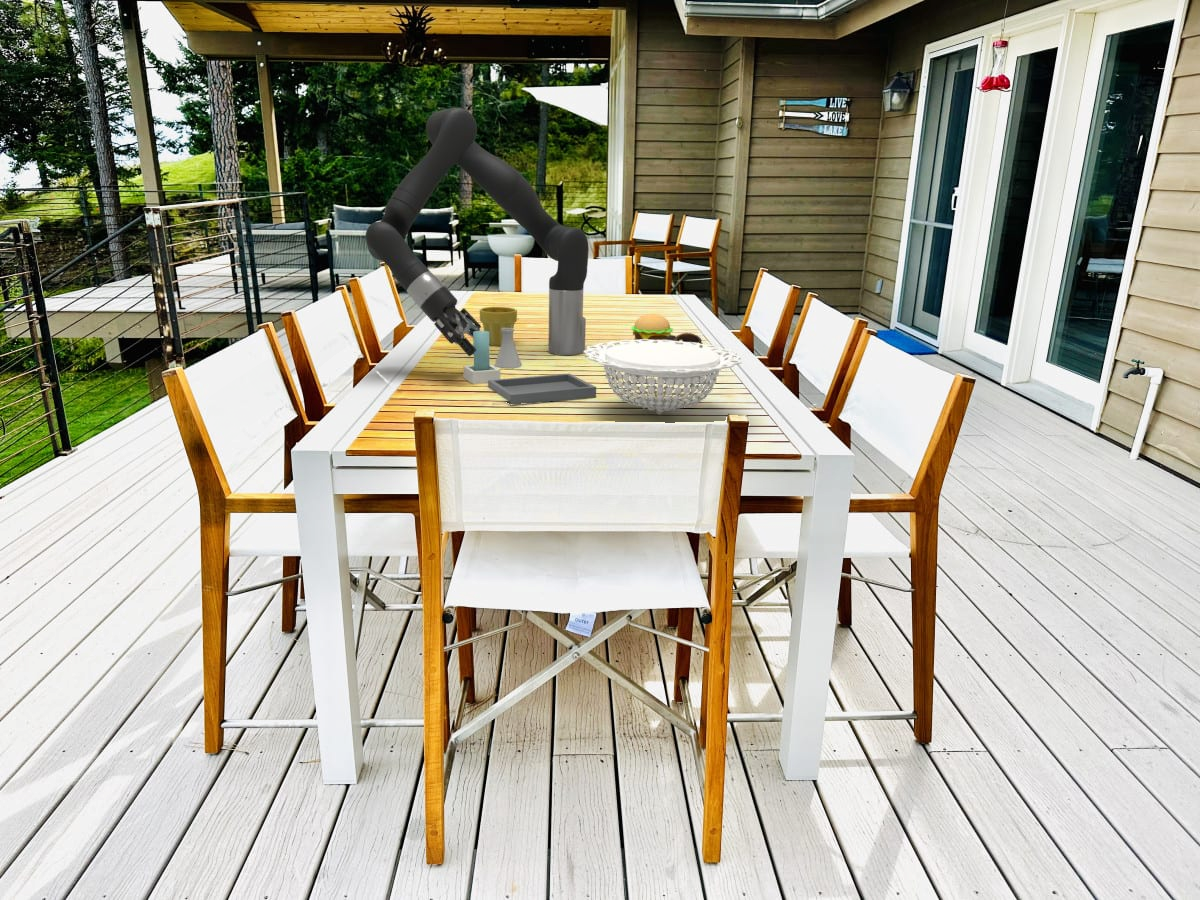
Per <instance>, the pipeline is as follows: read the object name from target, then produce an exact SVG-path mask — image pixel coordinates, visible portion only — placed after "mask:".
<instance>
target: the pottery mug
mask: <svg viewBox="0 0 1200 900" xmlns="http://www.w3.org/2000/svg"><path fill="white" fill-rule="evenodd" d="M666 340H672V341H683V342H695V343H700V344H704V343H703V342H702V341H703V340H702V338H701V337H700V336H698V335H697V334H695V333H691V332H683V333H680V334H678V335H677V336H676V335H672V334H671V335H669V336H668V337H667V338H666ZM694 345H697V344H694ZM700 348H703V346H701V347H700Z"/></svg>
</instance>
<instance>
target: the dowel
mask: <svg viewBox="0 0 1200 900" xmlns="http://www.w3.org/2000/svg"><path fill="white" fill-rule="evenodd" d="M472 341H473V344H472V345H473V346H474V347H475V348H476V351H475V352H474V353H473V365H474V371H483V370H490V361H491V360H490V345H489V332H488V331H484V330H480V331H474V332H473V337H472Z"/></svg>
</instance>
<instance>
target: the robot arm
mask: <svg viewBox="0 0 1200 900" xmlns="http://www.w3.org/2000/svg"><path fill="white" fill-rule="evenodd" d="M425 131H426V134H427V138H428V139H429V141H430V143H431V144H432V146H431V147H430V149H429V150H428V151H427V153H426V154H425V155H424V156H423V157H422V159H421V160H420V161H419V162H418V163H417V164H415V166H413V168H412V169H411V170H409V172H408V173H407V174H406V175H405V177H404V178H403V179H402V180H401V181H400V183H399V184H398V186H397V187H396V189H395V190H394V192H393V193H392V195H391V197H390V198H389V200H388V201H387V203H386V205H385V210H384V214H383V216H382V218H381V220H380V221H375V222H371V224H370V225H369V226H368V227H367V229H366V232H365V243H366V247H367V250H368V252H369V254H370V255H371V256H372V257H373V258H374V259H376V260H377V261H381V262H383V263H384V264H385V265H386V266H387V267H388V269H390V271H391V273H392V276H393V277H394V279H395V280H396V281H397V283H398V284H399V285H400V286H401V287H402V289H404V290H405V291H406V292H407V293H408V295H409V297H410V298H411V299H412V301H413V302H414V303H415V304H416V305H417V306H418V307H419V309H420V310H421V311H422V312H423V313H425V315H426V316H427V317H428V318H429V320H430V321H431V322H433V324H434V327H436V328H437V329H438V331H439V332H440V333H441V334H442V336H443V337H445V339H446V340H447V341H448V343H449V344H451V345H453V344H455V345H458V346H459V347H460V349H462V350H463V351H464V353H465V354H466V355H467V356H468V357H470V356H472V355H474V352H475V351H476V348H475V347H474V346H473V344H472V343H471V342H470V340H468V338H467V337H465V335H468V336H469V337H471V338H473V332H474V331H481V328H482V326H481V324H480V323H479V322H478V321H477V320H476V319H475V318H474V317H473V315H471V313H470V312H469V311H467V309H465V308H462V309H461V310H459V309H457V308H456V305H458V299H457V298H456V297H455V295H453V293H452V292H451V291H450V290H449V289H448V288H447V286H445V284H444V283H443V282H442V281H441V280H440V278H438V276H436V275H435V274H434V273H432V272H431V270H430V269H429V268H428V267H427V266H426V265H425V264H424V263H423V262H422V261H421V260H420V259H419V257H417V256H416V254H415V253H414V252H413V251H412V249H411V248H410V246H409V244H408V243H407V242H406V237H407V236H408V234H409V231H410V229H411V227H412V225H413V224H414V222H415V221H416V220H417V217H419V215H420V213H421V212H422V210H423V208H424V206H425V205H426V203H427V202H428V200H429V198H430V197H431V196H432V194H433V192H434V191H435V190H436V188H437V187H438V185H439V184H440V182H441V181H442V179H443V178H444V177H445V176H446V174H447V173H448V172H449V171H450V169H451V168H452V167H453V166H454V165H456V166H458V167H459V168H461V170H463V171H464V172H465V173H466V174H467V175H468V176H469V177H470V178H471V179H472V180H473V181H474V183H476V184H477V185H478V186H479V187H480V188H481V189H482V190H483V191H484V192H485V193H486V194H487V195H488V196H489V197H490V198H491V199H492V200H493V201H494V202H495V203H496V204H497V205H498V206H499V207H500V208H501V209H502V210H504V211H505V212H506V213H507V214H508V215H509V216H510V217H511V218H512V219H513V220H514V221H515V222H516V223H517V224H519V225H520V226H521V227H522V228H523V229H524V230H526V231H527V232H528V234H530V236H531V237H532V238H533V240H535V242H536V243H537V244H538V245H539V246H540V248H541V250H543V252H545V253H546V255H547V256H548V257H549V258H550V259H551V260H554V261H556V262H557V270H556V273H555V274H554V275H552V276H551V277H549V281H548V341H547V342H548V344H547V346H548V347H547V348H548V350H547V352H549V354H554V355H559V356H572V355H573V356H575V355H580V354H585V353H584V350H586V323H587V320H586V317H585V316H584V314H583V313H584V288H585V287H584V285H585V281H586V279H587V276H588V265H589V264H588V263H589V249H590V246H589V240H588V237H587V235H586V233H585V232H584V231H583V230H582V229H580V228H578V227H575V226H574V227H572V226H565V225H563V224H560V222H558V221H557V220H556V219H554V218H553V217H552V216H551V215H550V214H549V213H548V212H547V211H546V210H545V209H544V207H543V206H542V203H541V201H540V199H539V196H538V193H537V192H536V190H535V189H534V187H533V186H532V184H531V183H530V182H529V181H528V179H526V178H525V177H524V175H522V174H521V173H520V172H519V171H518V170H517V169H516V168H515V167H513V166H512V164H511V165H510V164H509V163H507V162H506V161H504V160H502V159H501V158H499V157H497V156H495V155H494V154H492V153H490V152H489V151H487V150H486V149H484V148H483V147H481V146H480V145H479V144H478V143H477V142H476V141H475V140H476V136H477V133H478V125H477V121H476V118H475V117H474V115H473V114H472V113H471V112H470V111H469V110H467V109H465V108H462V107H450V108H447V109H446V108H445V109H441V110H438V111H436V112H433V113H432V114H430V116H429V117H428V118H427V120H426V124H425ZM489 344H490V342H489Z"/></svg>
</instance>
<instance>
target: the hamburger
mask: <svg viewBox="0 0 1200 900" xmlns="http://www.w3.org/2000/svg"><path fill="white" fill-rule="evenodd" d="M631 330H632V335H633V336H634V339H633V340H640V339H649V340H666V338H667V337H668V336H669V335H672V334H671V333H672V332H673V331H674V328H672V327H671V324H670V321H669V320H668V319H667V318H666V317H664V316H662V315H660V314H655V313H647V314H645V315H642V316H640V317H638V318H637V319H636V320H635V323H634V325H633V326H632V327H631ZM664 342H665V341H664ZM636 343H637V342H636ZM655 343H657V342H655Z"/></svg>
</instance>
